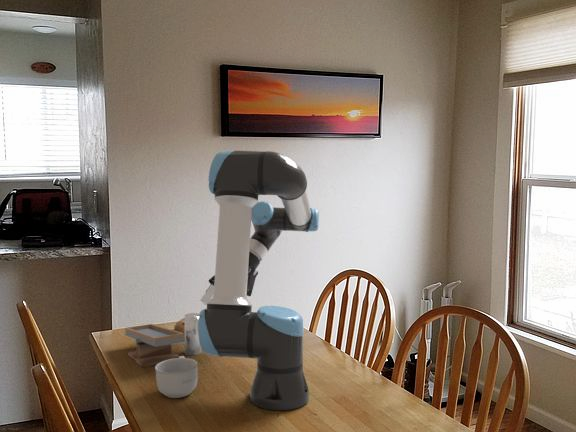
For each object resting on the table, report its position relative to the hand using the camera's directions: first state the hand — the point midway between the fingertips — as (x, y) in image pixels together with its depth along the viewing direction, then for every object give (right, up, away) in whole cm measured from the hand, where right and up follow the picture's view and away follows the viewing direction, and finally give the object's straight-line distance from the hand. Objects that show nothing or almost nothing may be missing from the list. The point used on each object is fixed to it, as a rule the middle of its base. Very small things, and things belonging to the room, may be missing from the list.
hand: (215, 306), depth 195 cm
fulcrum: (-18, -14, -10) cm, 25 cm away
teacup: (-5, -17, -35) cm, 40 cm away
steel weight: (-6, -14, -5) cm, 16 cm away
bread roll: (-11, -12, +12) cm, 20 cm away
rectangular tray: (-17, -8, -11) cm, 22 cm away
